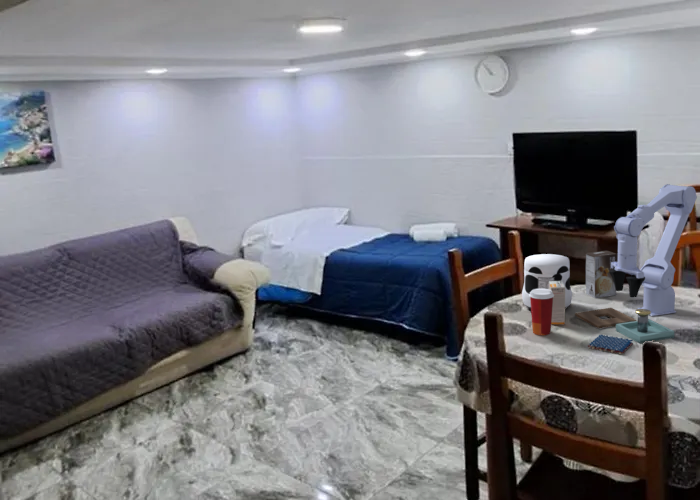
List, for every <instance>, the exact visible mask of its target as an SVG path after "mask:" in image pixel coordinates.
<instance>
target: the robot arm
mask: <svg viewBox="0 0 700 500" xmlns="http://www.w3.org/2000/svg"><path fill="white" fill-rule="evenodd" d="M697 198H698V196H697V191H696V189H695V187H694V186H689V185H688V186H686V185H675V184H670V183H669V184H668V183H666V184H664V185H663V186H662V187H660V188H659V191H658V194H657V195H656V196H655V197H653V199H651V200H650V202H648V203H647V204H639V205H638V206H637V208H635V209H634V210H633V211H632V212H630V213H628V215H626V216H620V217H619V218H618V219H617V220H616V222H615V225H614V226H613V229H614V232H615V234H616V235H615V236H616V239H617V262H611V268H613V270H610V271H609V273H610V275H611V276H612V279H613V282H614V285H615V289H616V292H622V291H624V285H625V284H624V283H625V279H626V281H627V284H628V292H629V293H628V294H629V298H630V299H633V298H637V297H638V294H639V291H640V288H641V286H643V302H642V303H643V305H642V307H637V309H647V310H650V311H651V314H650V315H649V316H651V317H655V316H662V315H667V314H675V313H677V311H676V310H675V307H676V306H675V305H676V304H675V302H676V292H675V289H674V288H673V286H672V284H673V283H674V276H675V272H676V268H675V267H674V265H673V264H672V262H671V261H672V258H673V256H674V254H675V250H676V249H677V246H678V243H679V241H680V239H681V236H682V233H683V231H684V229H685V226H686V223H687V221H688V218H689V216H690V214H691V213H692V211H693V208H694V207H695V206H694V205H695V203H696V201H697ZM662 208H665V210H666V211H667V212H668V213H669V214H670V215H669V218H668V220H667V222H666V225H665V228H664V231H663V234H662V236H661V237H660V239H659V240H660V241H659V242H658V245H657V248H656V250H655V253H654V254H653V257H651V258H648V259H646V260H645V261H644V264H643V265H642V267H641V268H639V267H638V266H637V265H638V264H637V261H638V257H637V256H638V254H637V253H638V236H639V235H640V234H641V232H642V230H643V228H644V227H645V226H646V225H647V224H648V223H650V222H651V221H652V220H654V218H655V214H656V213H657V212H658V211H660V210H661V209H662ZM626 274H628V275H631V276H626ZM637 309H636V310H637Z"/></svg>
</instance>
